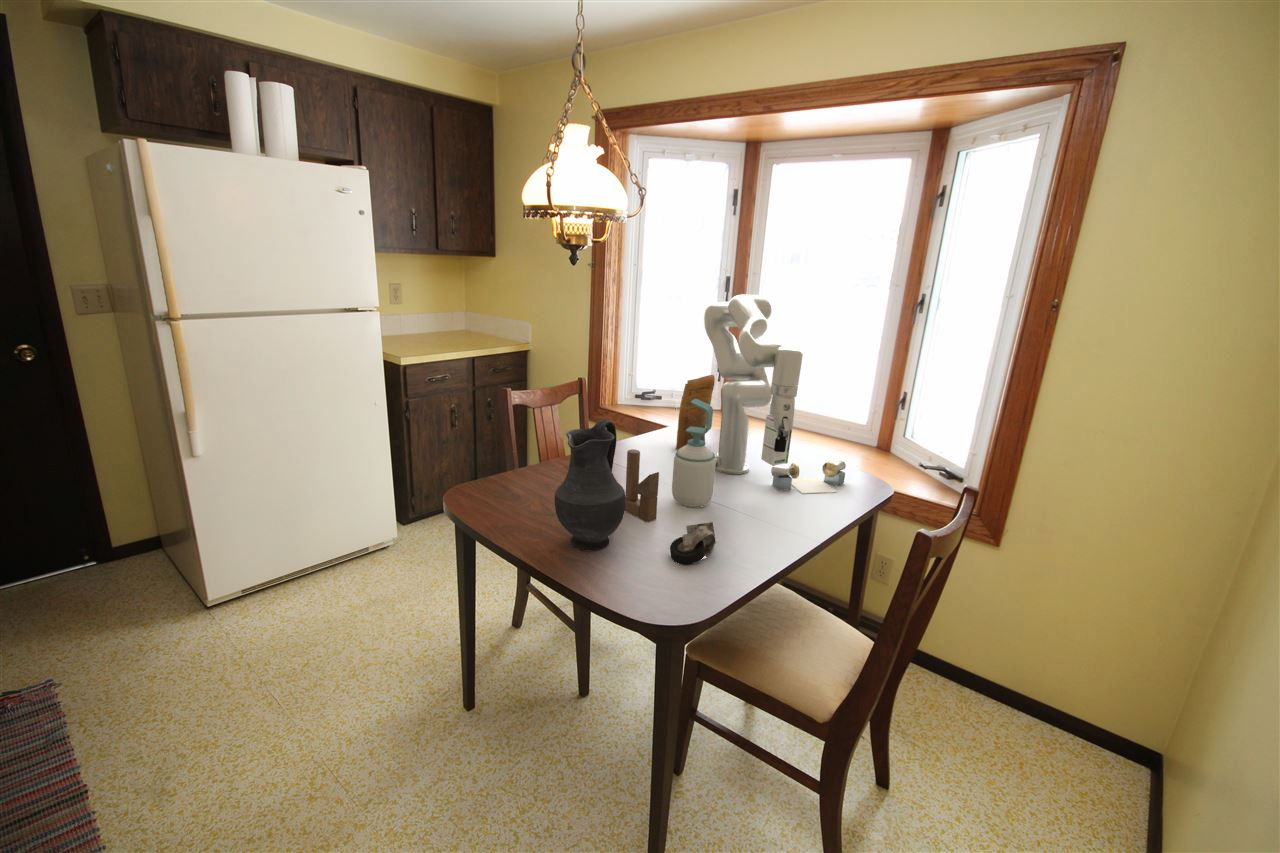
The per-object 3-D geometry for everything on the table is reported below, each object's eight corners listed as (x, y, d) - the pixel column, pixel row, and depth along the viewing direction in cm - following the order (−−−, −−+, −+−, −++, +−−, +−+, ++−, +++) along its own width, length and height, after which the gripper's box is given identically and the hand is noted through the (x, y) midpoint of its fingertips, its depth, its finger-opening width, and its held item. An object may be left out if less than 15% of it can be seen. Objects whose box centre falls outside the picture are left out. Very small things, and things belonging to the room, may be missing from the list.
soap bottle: (678, 490, 174) (684, 394, 165) (716, 498, 170) (725, 399, 161) (665, 505, 163) (672, 402, 154) (706, 513, 159) (715, 408, 150)
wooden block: (647, 523, 151) (650, 461, 146) (621, 509, 159) (623, 450, 154) (656, 519, 154) (660, 458, 149) (631, 506, 161) (633, 447, 156)
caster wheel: (673, 574, 132) (671, 548, 141) (720, 568, 131) (715, 542, 140) (669, 551, 129) (667, 526, 138) (717, 545, 128) (712, 520, 137)
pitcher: (542, 549, 135) (541, 431, 127) (581, 515, 154) (583, 411, 145) (606, 565, 129) (610, 443, 121) (639, 528, 148) (644, 420, 139)
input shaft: (774, 490, 178) (777, 467, 175) (768, 484, 182) (770, 461, 180) (797, 489, 179) (800, 466, 177) (790, 483, 184) (793, 460, 182)
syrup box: (772, 466, 165) (779, 419, 160) (760, 459, 169) (766, 413, 165) (787, 463, 167) (794, 418, 162) (774, 456, 172) (781, 412, 167)
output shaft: (833, 487, 182) (837, 464, 180) (820, 482, 186) (823, 460, 183) (846, 482, 187) (849, 460, 185) (832, 478, 191) (835, 456, 188)
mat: (801, 493, 176) (802, 493, 176) (785, 479, 187) (785, 478, 187) (836, 492, 178) (836, 491, 178) (818, 478, 190) (818, 477, 189)
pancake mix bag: (715, 444, 221) (721, 375, 213) (681, 453, 209) (686, 380, 201) (702, 440, 226) (708, 372, 218) (669, 448, 214) (673, 377, 206)
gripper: (805, 398, 153) (796, 458, 159) (788, 383, 170) (780, 437, 175) (778, 397, 153) (770, 456, 158) (764, 381, 169) (757, 436, 175)
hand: (776, 446), depth 167 cm, fingers closed on syrup box, 7 cm apart
